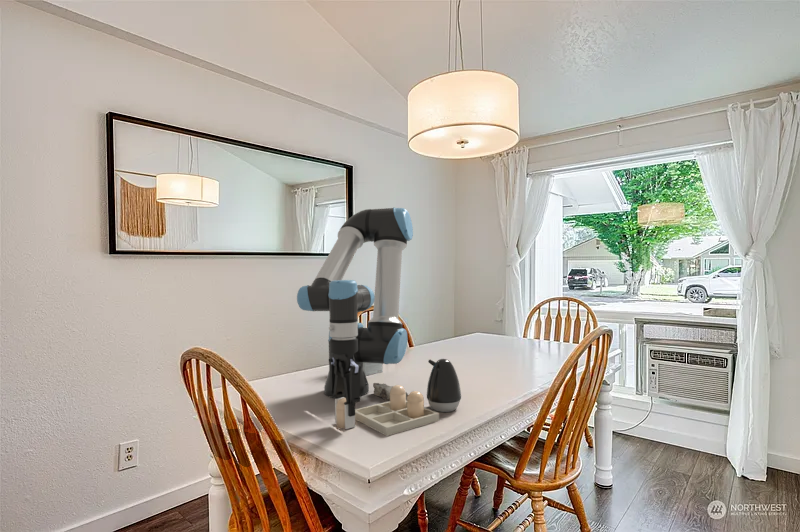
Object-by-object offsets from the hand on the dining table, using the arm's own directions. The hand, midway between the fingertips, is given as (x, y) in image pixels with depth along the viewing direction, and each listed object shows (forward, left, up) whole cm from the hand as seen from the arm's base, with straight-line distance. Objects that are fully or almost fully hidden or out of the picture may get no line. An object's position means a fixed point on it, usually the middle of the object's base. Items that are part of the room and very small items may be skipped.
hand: (345, 424), depth 119 cm
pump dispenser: (+6, +30, -1) cm, 31 cm away
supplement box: (-49, +38, -1) cm, 62 cm away
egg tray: (+4, +13, -1) cm, 14 cm away
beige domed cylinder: (0, +18, 0) cm, 18 cm away
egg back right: (+8, +18, 0) cm, 19 cm away
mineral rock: (-13, +25, -1) cm, 28 cm away
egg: (0, 0, -1) cm, 1 cm away
